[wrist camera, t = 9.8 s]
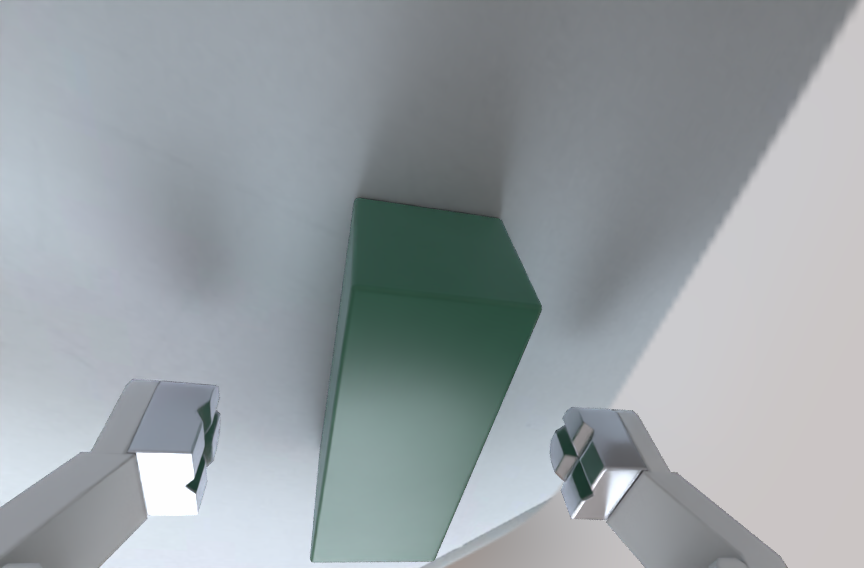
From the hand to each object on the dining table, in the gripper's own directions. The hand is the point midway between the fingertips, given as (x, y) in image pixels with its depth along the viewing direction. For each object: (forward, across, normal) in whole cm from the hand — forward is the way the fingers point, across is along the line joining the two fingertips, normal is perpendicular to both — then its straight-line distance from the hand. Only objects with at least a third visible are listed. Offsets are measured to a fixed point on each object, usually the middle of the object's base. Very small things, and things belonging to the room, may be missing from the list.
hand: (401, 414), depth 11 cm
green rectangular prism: (+2, 0, 0) cm, 2 cm away
